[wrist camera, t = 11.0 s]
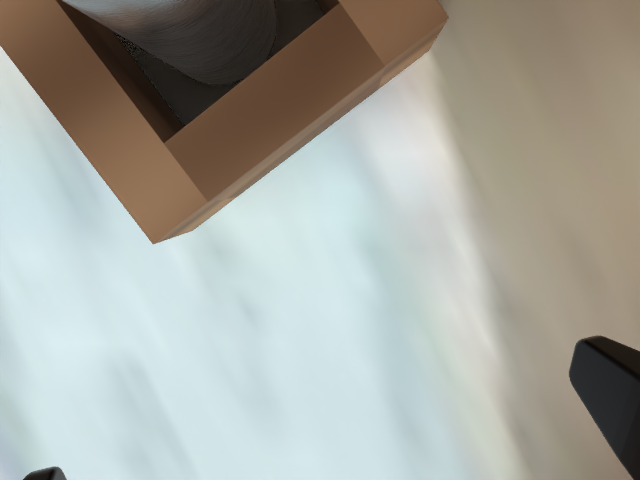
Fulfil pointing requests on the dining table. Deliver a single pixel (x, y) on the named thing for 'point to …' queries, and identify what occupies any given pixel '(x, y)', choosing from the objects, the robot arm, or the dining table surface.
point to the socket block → (221, 117)
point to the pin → (193, 33)
